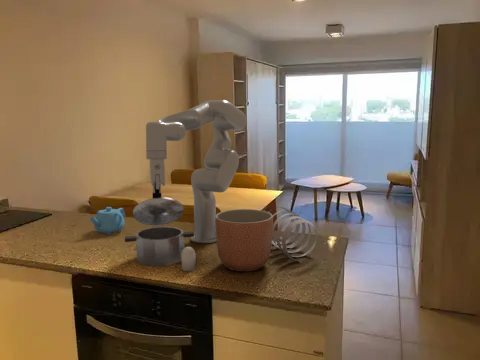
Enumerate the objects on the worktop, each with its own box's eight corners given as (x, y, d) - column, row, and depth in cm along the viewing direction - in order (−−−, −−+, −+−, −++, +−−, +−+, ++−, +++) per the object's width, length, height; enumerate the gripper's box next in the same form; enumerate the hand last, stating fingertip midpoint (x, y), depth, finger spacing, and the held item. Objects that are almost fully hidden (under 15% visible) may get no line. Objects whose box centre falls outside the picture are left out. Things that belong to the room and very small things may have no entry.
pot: (190, 246, 178) (189, 223, 177) (197, 262, 159) (196, 236, 158) (126, 251, 172) (124, 227, 170) (125, 269, 153) (124, 242, 151)
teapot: (112, 224, 213) (111, 201, 211) (137, 229, 205) (135, 205, 203) (79, 234, 196) (77, 209, 194) (104, 240, 188) (103, 214, 186)
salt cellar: (194, 265, 157) (194, 244, 155) (196, 270, 152) (196, 248, 151) (180, 266, 155) (180, 245, 154) (182, 271, 151) (182, 249, 149)
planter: (255, 253, 170) (255, 206, 167) (283, 270, 151) (284, 218, 148) (207, 261, 160) (206, 212, 157) (231, 281, 142) (230, 225, 139)
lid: (181, 223, 175) (181, 217, 176) (185, 198, 159) (184, 192, 161) (133, 226, 170) (133, 220, 171) (132, 201, 155) (132, 194, 156)
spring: (262, 244, 186) (290, 269, 158) (254, 211, 182) (280, 231, 154) (294, 232, 190) (327, 254, 161) (286, 200, 186) (318, 216, 158)
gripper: (168, 156, 153) (168, 206, 155) (165, 153, 167) (165, 199, 170) (146, 156, 151) (147, 207, 153) (145, 153, 165) (146, 200, 168)
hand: (157, 203), depth 161 cm, fingers closed
